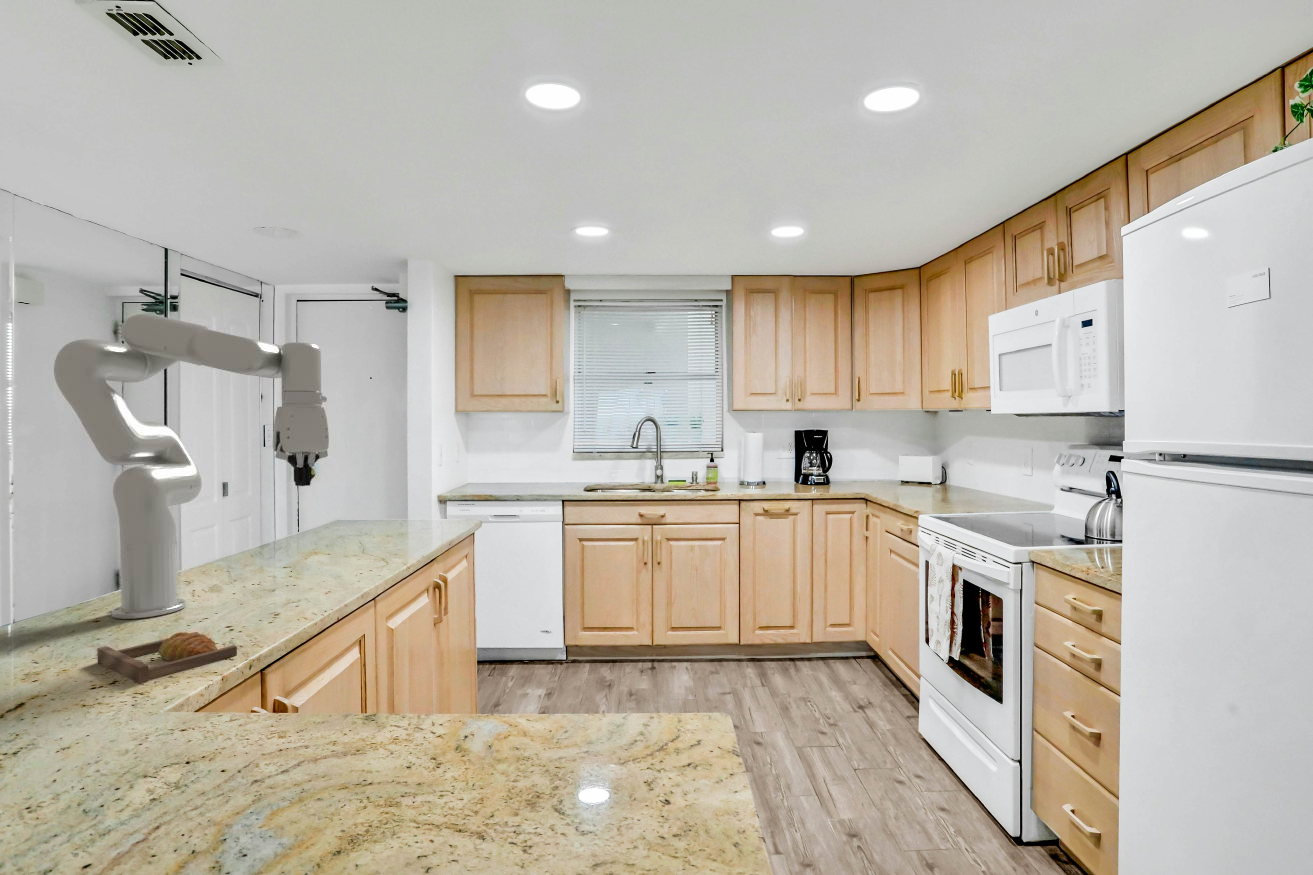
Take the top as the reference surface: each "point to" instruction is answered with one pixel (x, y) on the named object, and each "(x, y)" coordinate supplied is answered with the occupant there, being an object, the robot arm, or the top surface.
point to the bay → (142, 673)
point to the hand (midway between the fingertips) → (302, 485)
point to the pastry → (185, 646)
